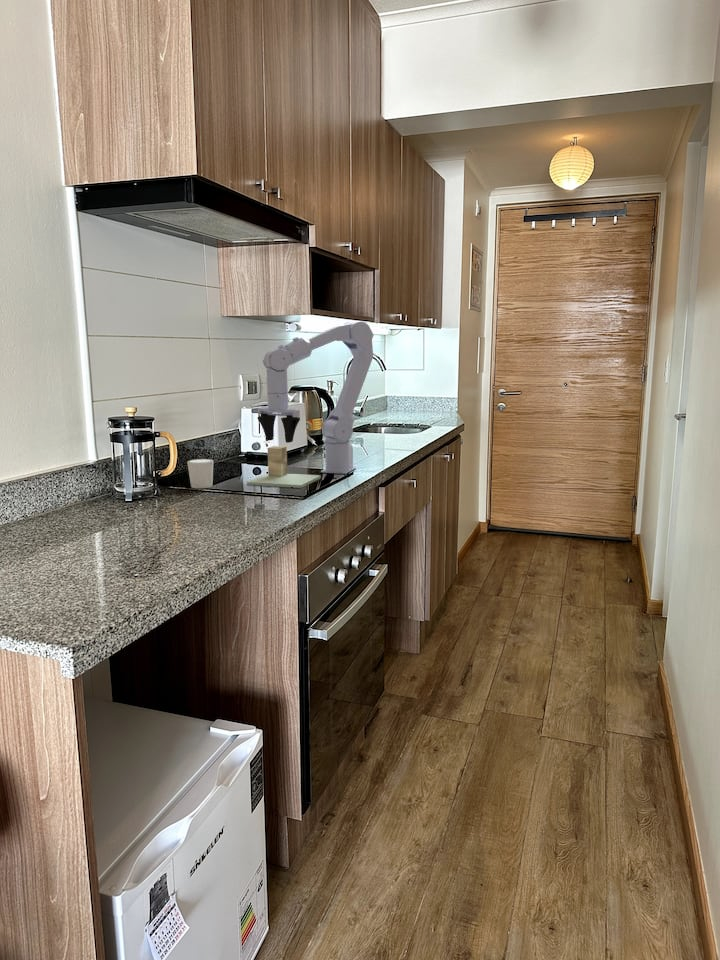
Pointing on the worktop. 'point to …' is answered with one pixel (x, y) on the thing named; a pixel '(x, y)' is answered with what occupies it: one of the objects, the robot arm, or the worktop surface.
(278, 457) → the maple block
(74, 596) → the worktop surface
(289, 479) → the cutting board
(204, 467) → the light grey cup
